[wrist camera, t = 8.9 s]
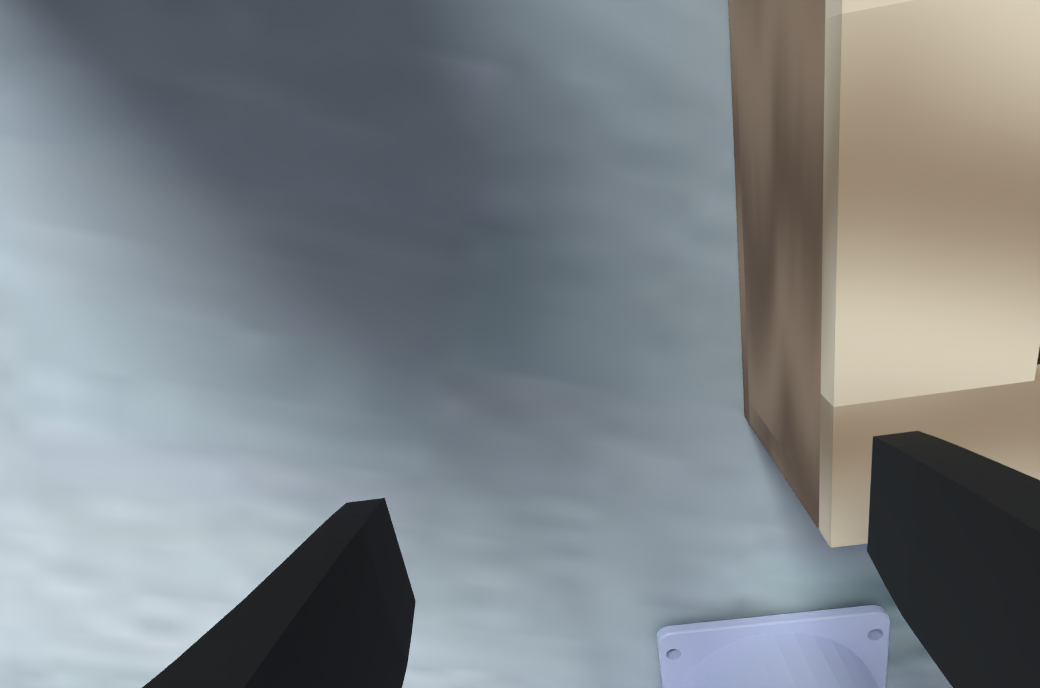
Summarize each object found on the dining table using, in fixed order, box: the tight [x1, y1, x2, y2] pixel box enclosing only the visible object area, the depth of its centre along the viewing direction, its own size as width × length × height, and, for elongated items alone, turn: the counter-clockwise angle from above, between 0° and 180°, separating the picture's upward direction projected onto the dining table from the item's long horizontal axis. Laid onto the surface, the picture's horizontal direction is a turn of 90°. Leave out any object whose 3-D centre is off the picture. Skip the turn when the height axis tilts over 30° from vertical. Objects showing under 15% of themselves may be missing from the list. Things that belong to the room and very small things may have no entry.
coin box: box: [728, 0, 1040, 548], centre depth 13 cm, size 14×11×6 cm
